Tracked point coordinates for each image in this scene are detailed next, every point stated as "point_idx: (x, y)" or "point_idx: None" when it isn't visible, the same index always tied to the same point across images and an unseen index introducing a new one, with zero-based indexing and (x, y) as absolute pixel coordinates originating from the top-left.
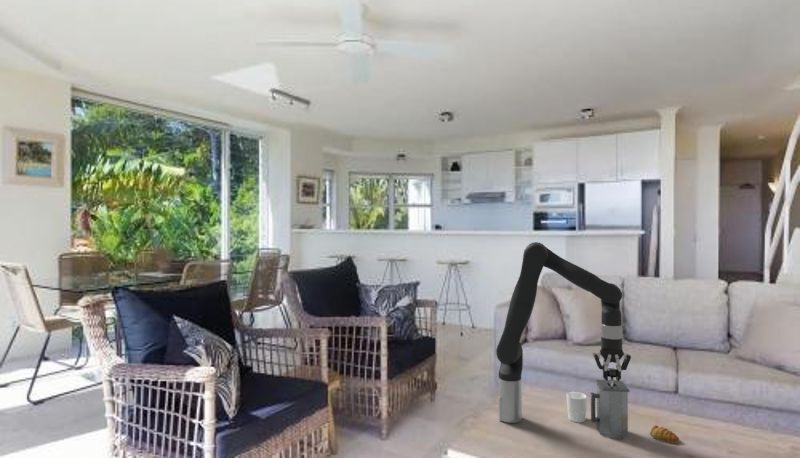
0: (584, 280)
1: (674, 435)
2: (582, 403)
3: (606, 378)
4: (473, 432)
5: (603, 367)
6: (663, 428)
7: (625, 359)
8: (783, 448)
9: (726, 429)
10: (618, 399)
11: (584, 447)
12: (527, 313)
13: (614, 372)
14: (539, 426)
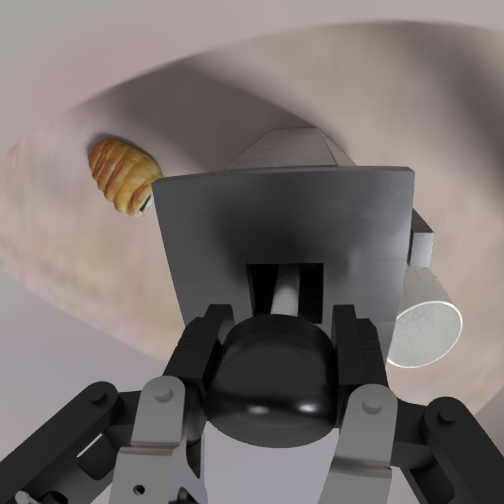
0: None
1: (94, 160)
2: (408, 292)
3: (349, 316)
4: None
5: (398, 433)
6: (113, 189)
7: (48, 496)
8: None
9: (21, 259)
10: (263, 154)
11: (423, 48)
12: None
13: (246, 362)
14: None
